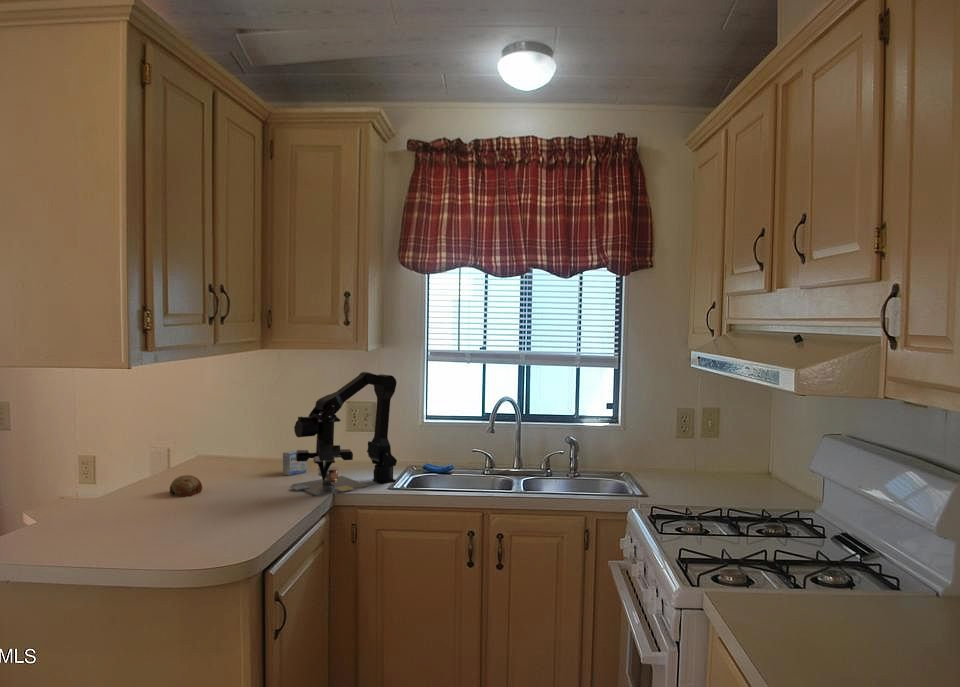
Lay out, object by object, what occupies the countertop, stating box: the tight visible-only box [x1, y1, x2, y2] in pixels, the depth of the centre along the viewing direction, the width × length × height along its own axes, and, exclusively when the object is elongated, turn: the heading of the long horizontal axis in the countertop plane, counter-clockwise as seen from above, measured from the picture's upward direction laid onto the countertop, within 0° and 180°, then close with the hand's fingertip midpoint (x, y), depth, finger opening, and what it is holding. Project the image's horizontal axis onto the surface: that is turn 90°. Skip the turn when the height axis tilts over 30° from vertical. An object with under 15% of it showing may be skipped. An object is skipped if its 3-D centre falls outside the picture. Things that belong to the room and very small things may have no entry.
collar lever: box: [317, 466, 339, 483], centre depth 219 cm, size 16×7×4 cm, turn 23°
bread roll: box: [169, 474, 203, 498], centre depth 209 cm, size 10×10×8 cm
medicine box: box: [282, 449, 307, 477], centre depth 239 cm, size 8×4×9 cm, turn 143°
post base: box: [289, 475, 368, 498], centre depth 219 cm, size 22×20×3 cm
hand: (323, 480), depth 212 cm, fingers closed
